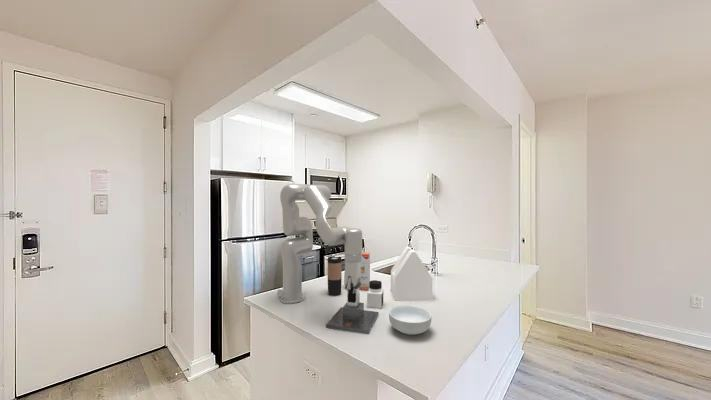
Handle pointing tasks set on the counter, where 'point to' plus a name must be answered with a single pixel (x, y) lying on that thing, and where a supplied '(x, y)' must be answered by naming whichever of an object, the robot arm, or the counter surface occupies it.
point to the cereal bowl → (410, 319)
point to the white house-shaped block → (410, 278)
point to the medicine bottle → (375, 294)
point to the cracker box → (365, 271)
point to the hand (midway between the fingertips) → (353, 299)
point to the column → (357, 291)
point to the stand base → (353, 319)
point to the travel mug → (334, 276)
